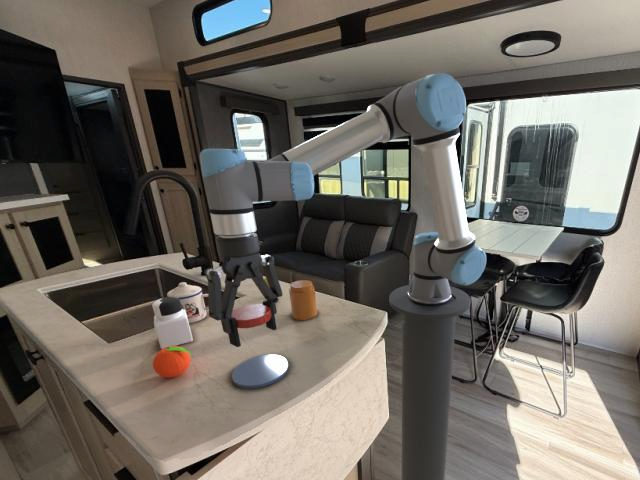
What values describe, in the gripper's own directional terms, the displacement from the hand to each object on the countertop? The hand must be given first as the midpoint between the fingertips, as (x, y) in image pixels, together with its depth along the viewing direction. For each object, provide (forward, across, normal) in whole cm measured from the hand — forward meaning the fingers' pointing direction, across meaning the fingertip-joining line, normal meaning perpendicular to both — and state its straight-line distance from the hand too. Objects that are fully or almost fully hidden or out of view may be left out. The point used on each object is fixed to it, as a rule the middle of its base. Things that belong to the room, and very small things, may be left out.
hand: (254, 335), depth 70 cm
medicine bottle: (+10, +4, -32) cm, 34 cm away
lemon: (+10, -30, -37) cm, 49 cm away
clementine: (+10, +11, -15) cm, 21 cm away
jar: (+9, -26, -15) cm, 31 cm away
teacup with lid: (+10, -6, -42) cm, 43 cm away
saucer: (+9, 0, 0) cm, 9 cm away
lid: (-6, 0, 0) cm, 6 cm away
